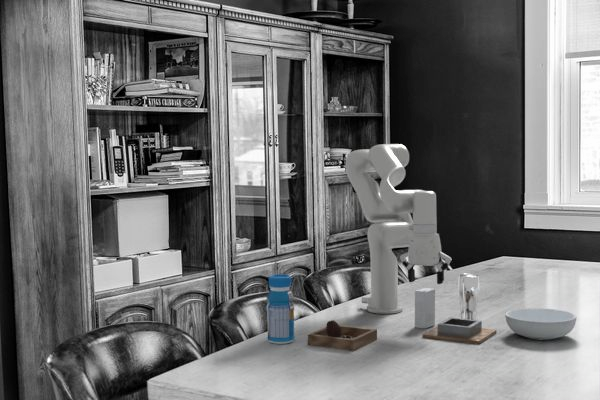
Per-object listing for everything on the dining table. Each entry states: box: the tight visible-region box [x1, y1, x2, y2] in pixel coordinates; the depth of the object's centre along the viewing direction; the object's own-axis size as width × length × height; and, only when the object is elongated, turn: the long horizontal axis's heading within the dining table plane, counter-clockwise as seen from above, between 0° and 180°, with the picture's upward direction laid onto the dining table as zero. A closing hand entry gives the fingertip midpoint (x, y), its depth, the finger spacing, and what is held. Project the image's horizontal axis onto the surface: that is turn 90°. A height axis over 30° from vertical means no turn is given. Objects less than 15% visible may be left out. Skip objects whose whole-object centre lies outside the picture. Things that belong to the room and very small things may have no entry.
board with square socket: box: [422, 316, 497, 345], centre depth 254 cm, size 18×16×4 cm
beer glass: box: [457, 273, 480, 320], centre depth 274 cm, size 7×7×15 cm
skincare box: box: [414, 287, 436, 329], centre depth 266 cm, size 6×4×12 cm
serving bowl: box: [504, 307, 577, 341], centre depth 251 cm, size 21×21×7 cm
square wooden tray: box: [307, 324, 378, 352], centre depth 248 cm, size 15×15×3 cm
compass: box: [325, 319, 354, 339], centre depth 248 cm, size 8×8×7 cm
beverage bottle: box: [266, 273, 295, 345], centre depth 249 cm, size 8×8×20 cm
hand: (425, 282), depth 264 cm, fingers open, 9 cm apart
